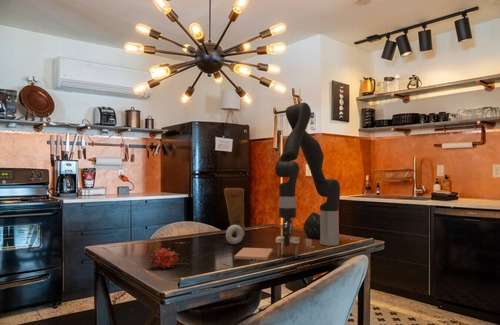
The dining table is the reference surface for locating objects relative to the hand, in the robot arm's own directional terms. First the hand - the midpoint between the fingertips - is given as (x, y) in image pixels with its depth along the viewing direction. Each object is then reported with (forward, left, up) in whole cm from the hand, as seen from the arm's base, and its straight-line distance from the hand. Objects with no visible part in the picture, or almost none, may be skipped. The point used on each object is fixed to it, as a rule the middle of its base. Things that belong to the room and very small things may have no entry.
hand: (287, 244), depth 163 cm
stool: (0, 0, -5) cm, 5 cm away
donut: (+30, -23, -5) cm, 38 cm away
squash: (-11, -50, -5) cm, 51 cm away
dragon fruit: (+45, +28, -5) cm, 53 cm away
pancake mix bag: (+37, -53, -5) cm, 65 cm away
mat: (+15, 0, -5) cm, 16 cm away
